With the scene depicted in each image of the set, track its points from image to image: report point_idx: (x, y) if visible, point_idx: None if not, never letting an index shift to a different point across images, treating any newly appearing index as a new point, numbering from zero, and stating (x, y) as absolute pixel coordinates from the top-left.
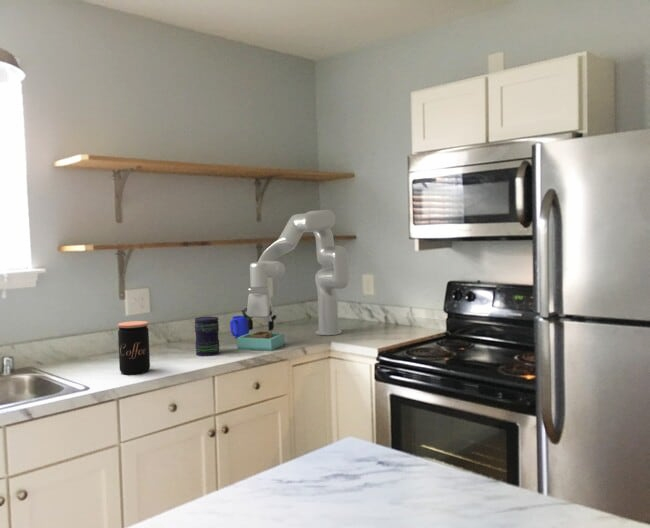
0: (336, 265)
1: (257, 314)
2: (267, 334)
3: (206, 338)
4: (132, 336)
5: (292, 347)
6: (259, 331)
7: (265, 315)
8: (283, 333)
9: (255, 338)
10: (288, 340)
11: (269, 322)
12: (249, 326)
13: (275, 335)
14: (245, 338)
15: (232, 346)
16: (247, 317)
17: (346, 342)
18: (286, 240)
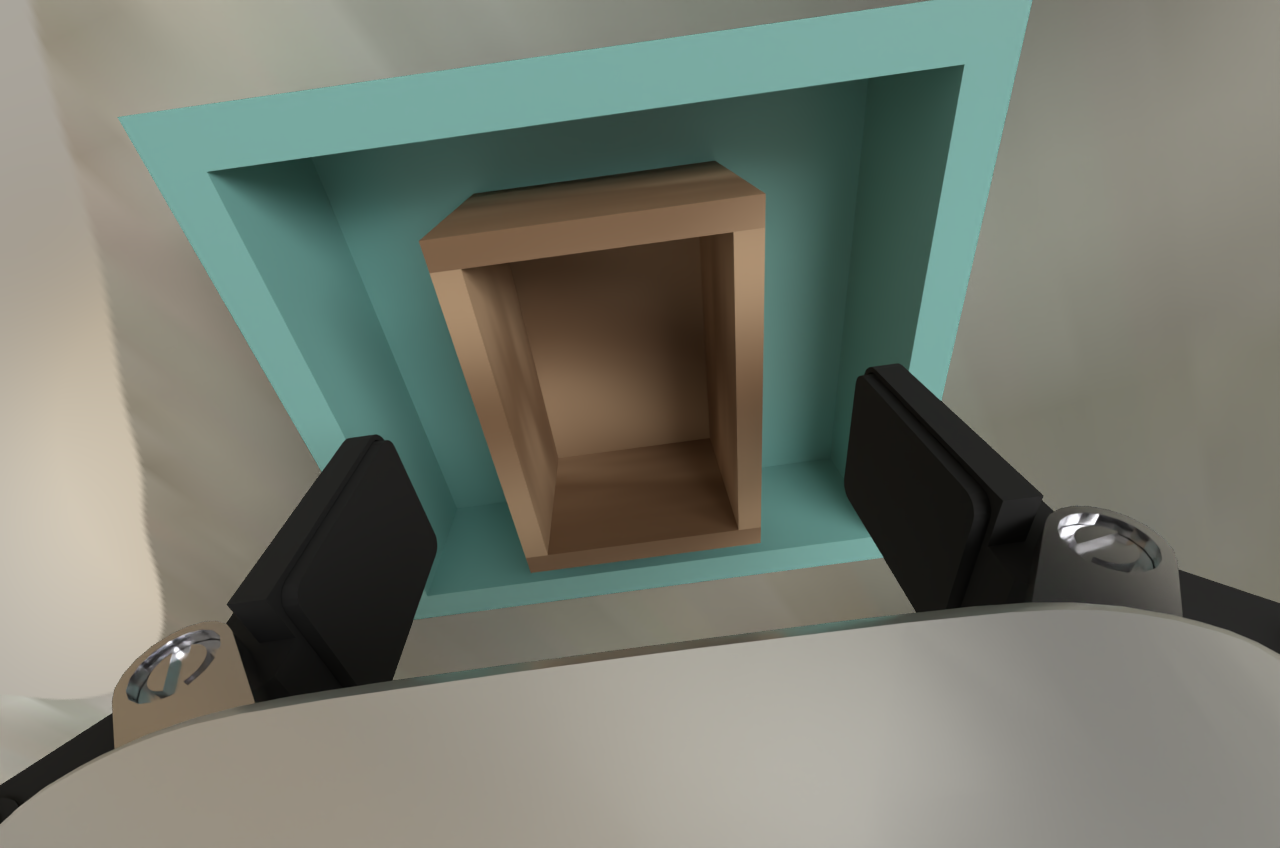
0: None
1: (620, 795)
2: (484, 420)
3: None
4: None
5: (234, 428)
6: (748, 542)
7: (88, 810)
8: (415, 617)
9: (532, 65)
10: (556, 655)
11: (249, 579)
12: (905, 408)
13: (518, 563)
14: (797, 23)
15: (1041, 228)
16: (1177, 607)
17: (24, 729)
18: None
